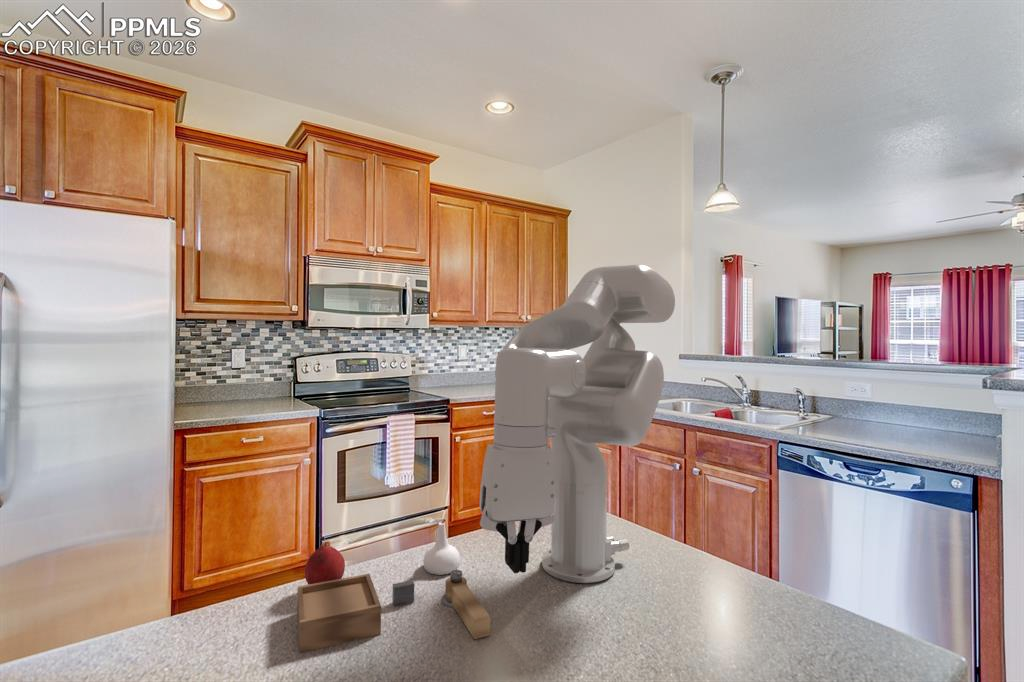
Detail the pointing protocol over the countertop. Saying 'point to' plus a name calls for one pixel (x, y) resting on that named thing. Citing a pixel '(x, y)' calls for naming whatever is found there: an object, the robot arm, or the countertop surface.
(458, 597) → the leg
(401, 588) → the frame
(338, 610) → the wooden tray
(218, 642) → the countertop surface
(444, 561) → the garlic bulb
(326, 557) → the onion
